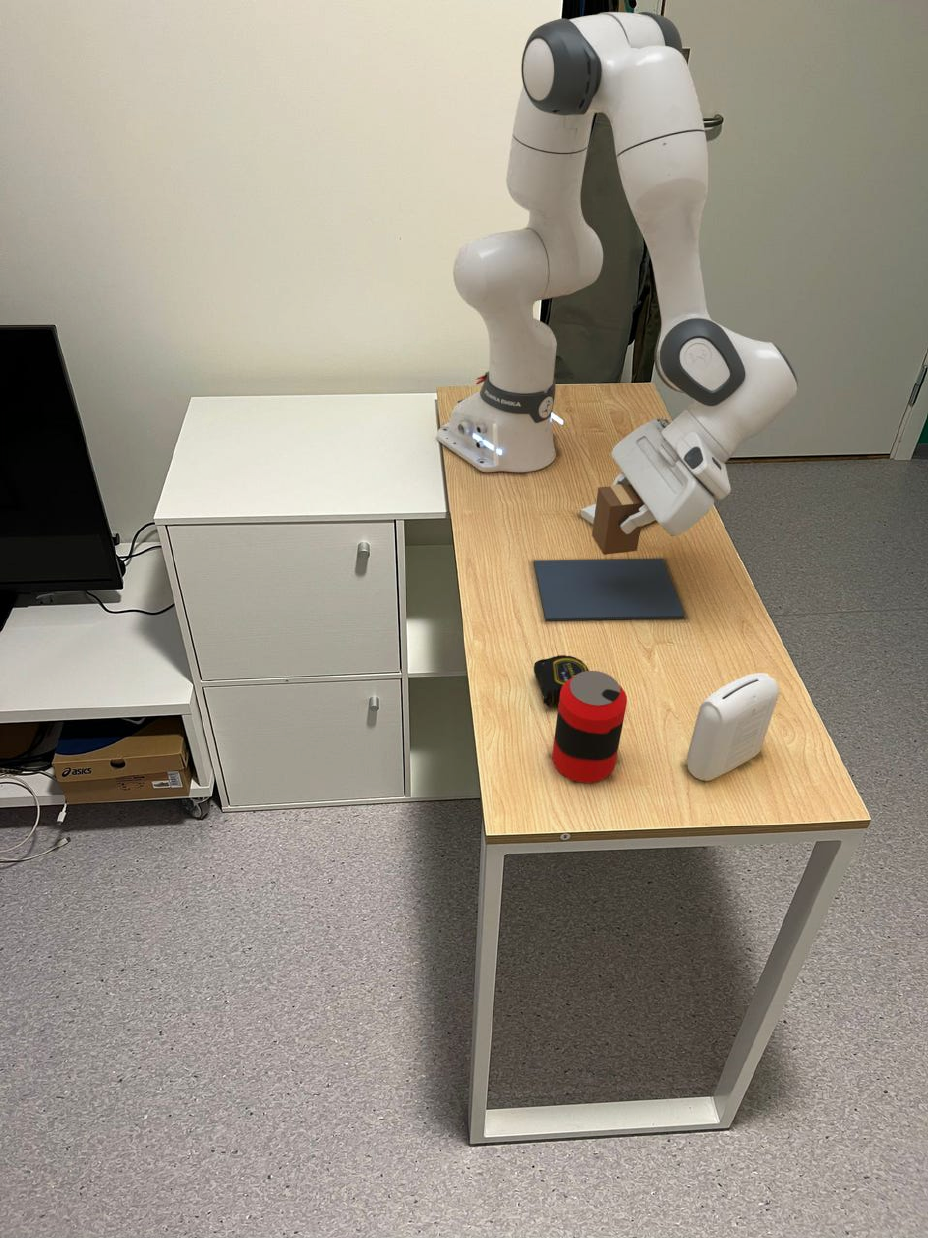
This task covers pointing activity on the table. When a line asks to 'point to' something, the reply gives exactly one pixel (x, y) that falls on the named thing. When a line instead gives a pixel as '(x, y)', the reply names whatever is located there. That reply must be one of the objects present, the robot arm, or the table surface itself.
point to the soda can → (588, 726)
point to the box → (615, 518)
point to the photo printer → (731, 725)
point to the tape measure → (556, 675)
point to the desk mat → (606, 589)
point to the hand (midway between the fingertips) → (614, 516)
